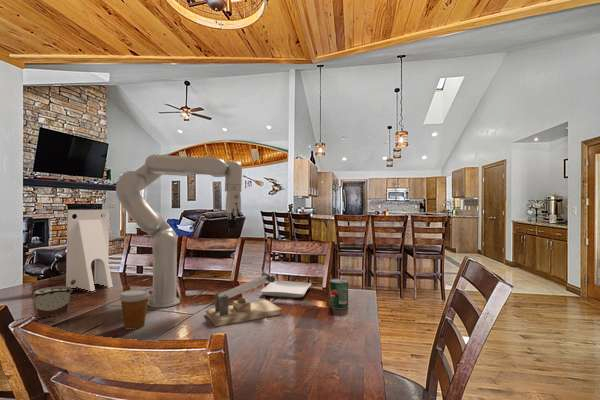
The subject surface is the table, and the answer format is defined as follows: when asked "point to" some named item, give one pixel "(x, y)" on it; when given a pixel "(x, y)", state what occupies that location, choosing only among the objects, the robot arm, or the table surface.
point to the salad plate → (286, 289)
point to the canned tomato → (339, 293)
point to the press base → (244, 316)
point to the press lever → (248, 285)
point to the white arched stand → (88, 249)
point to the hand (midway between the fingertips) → (231, 228)
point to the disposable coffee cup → (134, 307)
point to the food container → (52, 300)
